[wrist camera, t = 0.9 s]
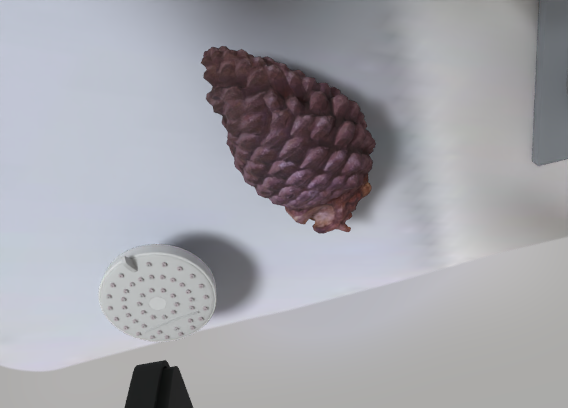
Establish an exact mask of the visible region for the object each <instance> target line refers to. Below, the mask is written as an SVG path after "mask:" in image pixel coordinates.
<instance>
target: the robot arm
mask: <svg viewBox="0 0 568 408" xmlns="http://www.w3.org/2000/svg"><path fill="white" fill-rule="evenodd" d="M125 408H193V406H192V403H191V400H190V398H189V395H188V392H187V390H186V387H185V384H184V381H183V379H182V376H181V373H180V371H179V368H178V367H177V366H175V367H170V366H169V364H168V362H167V361H166V360H164V361H159V362H153V363H147V364H142V365H137V366H136V367H135V368H134V371H133V375H132V379H131V383H130V387H129V392H128V396H127V400H126V404H125Z"/></svg>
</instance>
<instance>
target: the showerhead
mask: <svg viewBox="0 0 568 408" xmlns="http://www.w3.org/2000/svg"><path fill="white" fill-rule="evenodd" d="M216 301H217V297H216V282H215V279H214V276H213V274H212V272H211V270H210V269H209V267H208V266H207V265H206V264H205V263H204V262H203V261H202V260H201V259H200V258H199V257H197V256H196V255H194V254H193V253H191V252H189V251H187V250H185V249H182V248H179V247H176V246H171V245H165V244H150V245H143V246H139V247H135V248H132V249H130V250H128V251H126V252H124V253H122V254H121V255H119V256H118V257H117V258H116V259H115V260H113V262H112V263H111V264H110V265H109V267H108V268H107V270H106V272H105V274H104V277H103V279H102V281H101V284H100V288H99V303H100V306H101V309H102V311H103V313H104V315H105V316H106V318H107V319H108V320H109V321H110V322H111V323H112V325H114V326H115V327H116V328H117V329H119V330H120V331H122V332H123V333H125V334H127V335H130V336H132V337H134V338H137V339H141V340H145V341H153V342H167V341H174V340H179V339H182V338H185V337H187V336H190V335H192V334H194V333H195V332H197V331H199V330H200V329H201V328H202V327H204V326H205V325H206V323H207V322H208V321H209V320H210V318H211V317H212V315H213V313H214V310H215V307H216Z"/></svg>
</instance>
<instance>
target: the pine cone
mask: <svg viewBox="0 0 568 408" xmlns="http://www.w3.org/2000/svg"><path fill="white" fill-rule="evenodd" d="M203 56H204V58H203V59H202V62H201V63H202V64H203V65H204V66H205V67H206V69H207V70H206V71H205V73H204V79H205V80H207V81H208V82H209V83H210V84H211V85H212V86H213V88H212V90H211V92H209V93H208V94H207V97H206V99H207V101H208V102H209V103H210V104H211V105H212V106H213V110H214V112H215V113H218V114H220V115H222V116H223V118H222V124H223V125H224V127H225V128H226V129H227V131H228V137H227V138H228V140H227V145H228V146H229V147H230V150H231V153H232V155H233V156H234V160H235V161H234V164H235V167H236V168H237V169H238V170H239V171H240V172H241V173H242V175H243V177H244V180H245V182H246V183H248V184H249V185H251V186H254V187H255V189H256V191H257V193H258V195H260V196H262V197H264V198H269V199H270V200H271V201H272V203H273V204H277V205H282V206H285V209H286V212H287V213H288V214H289V215H290V216H291V217H292V218H293V219H294V220H295V221H296V222H298V223H300V224H306V222H307V221H308V219H311V220H314V221H315V224H314V225H313V229H314V231H316V232H318V233H326V232H329V231H332V230H334V229H339V230H342V231H345V232H349V231H350V229H351V228H350V227H348V226H347V225H346V224H345V222H346V220H348V219H350V218H351V217H352V213H351V212H352V211H354V210H356V206H357V204H358V201H359V200H360V199H362V198H363V197H365V196H367V195H368V194H369V193H370V191H371V185H370V183H369V182H368V172H369V171H370V170H371V169H372V164H373V161H372V159H371V158H370V156H369V154H371V153H372V152H373V148H375V145H376V143H375V140H374V139H373V138H372V136H371V133H370V132H369V131H368V130H366V127H367V124H366V122H365V120H364V115H363V113H362V112H360V108H359V106H358V104H357V103H356V102H355V101H352V100H348V97H346V96H345V95H343V94H341V93H340V90H339V89H337V88H335V87H329V85H328V83H317V82H316V80H315V78H311V77H306V76H305V74H304V73H303V72H301V71H300V70H294V71H293V70H290V69H289V68H288V67H287V66H286V65H285V64H283V63H277V62H275V61H274V60H273V59H271V58H269V57H264V58H261V57H254V56H253V55H250V54H248V53H247V52H245V51H244V50H242V49H241V50H238V51H234V50H229V49H228V48H227V47H226V46H221V47H220V48H219V49H218V48H215V47H211V48H210V49H208V51H205V52H204V55H203Z"/></svg>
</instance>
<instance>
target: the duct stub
mask: <svg viewBox="0 0 568 408" xmlns="http://www.w3.org/2000/svg"><path fill="white" fill-rule="evenodd" d="M565 159H568V0H539V17H538V39H537V61H536V83H535V104H534V126H533V148H532V162H533V163H535V164H536V165H537V166H540V165H544V164H549V163H553V162H557V161H561V160H565Z"/></svg>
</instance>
